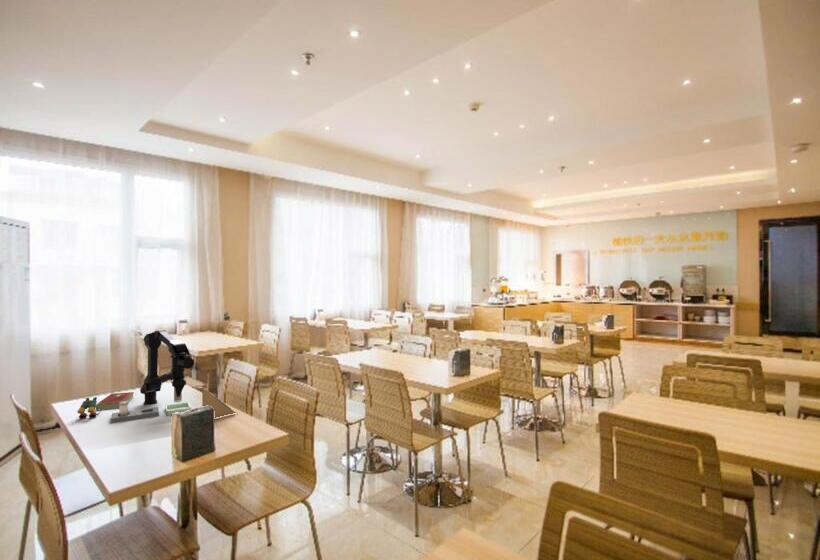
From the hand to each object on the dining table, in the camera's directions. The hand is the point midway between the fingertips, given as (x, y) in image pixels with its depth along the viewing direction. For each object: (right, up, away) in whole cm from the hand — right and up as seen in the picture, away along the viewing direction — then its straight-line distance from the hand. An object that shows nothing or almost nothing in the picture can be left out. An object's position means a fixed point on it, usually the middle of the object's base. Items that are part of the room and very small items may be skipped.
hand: (177, 395), depth 226 cm
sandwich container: (+26, -9, -7) cm, 28 cm away
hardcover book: (-42, -9, +13) cm, 45 cm away
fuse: (-20, -8, -13) cm, 25 cm away
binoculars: (-39, -8, -12) cm, 41 cm away
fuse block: (-16, -8, -10) cm, 21 cm away
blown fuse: (0, -3, 0) cm, 3 cm away
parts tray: (0, -8, 0) cm, 8 cm away
